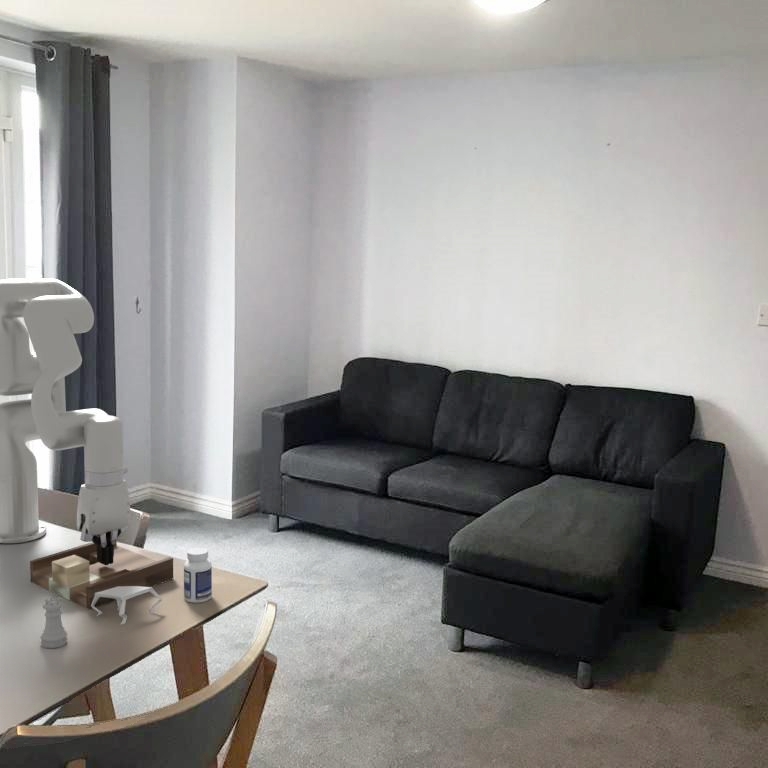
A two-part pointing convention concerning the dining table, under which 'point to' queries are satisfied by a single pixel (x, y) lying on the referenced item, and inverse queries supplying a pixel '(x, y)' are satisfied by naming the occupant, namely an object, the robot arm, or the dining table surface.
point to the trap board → (102, 573)
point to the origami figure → (124, 597)
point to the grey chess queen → (53, 625)
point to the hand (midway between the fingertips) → (105, 562)
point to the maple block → (70, 571)
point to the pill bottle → (197, 576)
